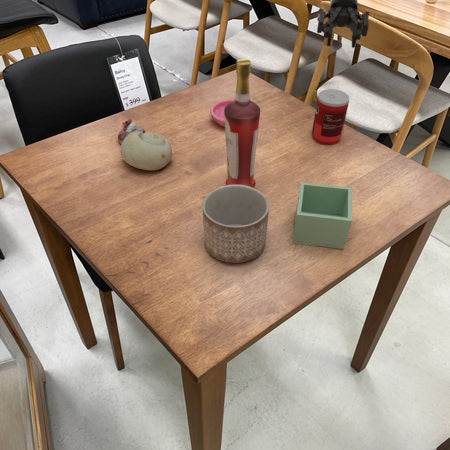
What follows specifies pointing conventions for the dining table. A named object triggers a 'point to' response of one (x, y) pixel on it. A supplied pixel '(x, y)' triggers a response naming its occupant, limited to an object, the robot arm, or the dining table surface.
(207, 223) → the planter
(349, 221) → the box
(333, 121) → the canned food
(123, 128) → the pinkish grey lump
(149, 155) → the seashell
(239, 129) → the liquor
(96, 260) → the dining table surface
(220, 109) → the saucer
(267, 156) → the dining table surface
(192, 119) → the dining table surface
